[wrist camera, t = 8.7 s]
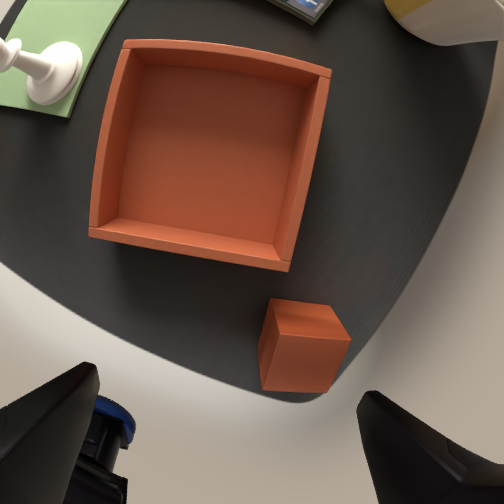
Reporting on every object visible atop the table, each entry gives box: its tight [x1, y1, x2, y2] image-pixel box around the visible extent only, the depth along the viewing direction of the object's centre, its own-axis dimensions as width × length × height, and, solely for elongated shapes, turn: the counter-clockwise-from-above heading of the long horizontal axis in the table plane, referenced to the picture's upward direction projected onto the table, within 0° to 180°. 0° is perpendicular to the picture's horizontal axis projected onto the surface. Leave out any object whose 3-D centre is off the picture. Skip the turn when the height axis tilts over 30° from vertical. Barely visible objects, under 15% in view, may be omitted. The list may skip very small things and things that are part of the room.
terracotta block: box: [257, 298, 352, 393], centre depth 18 cm, size 4×4×4 cm
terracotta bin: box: [89, 40, 332, 272], centre depth 14 cm, size 11×11×3 cm
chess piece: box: [0, 38, 82, 105], centre depth 8 cm, size 5×5×10 cm
